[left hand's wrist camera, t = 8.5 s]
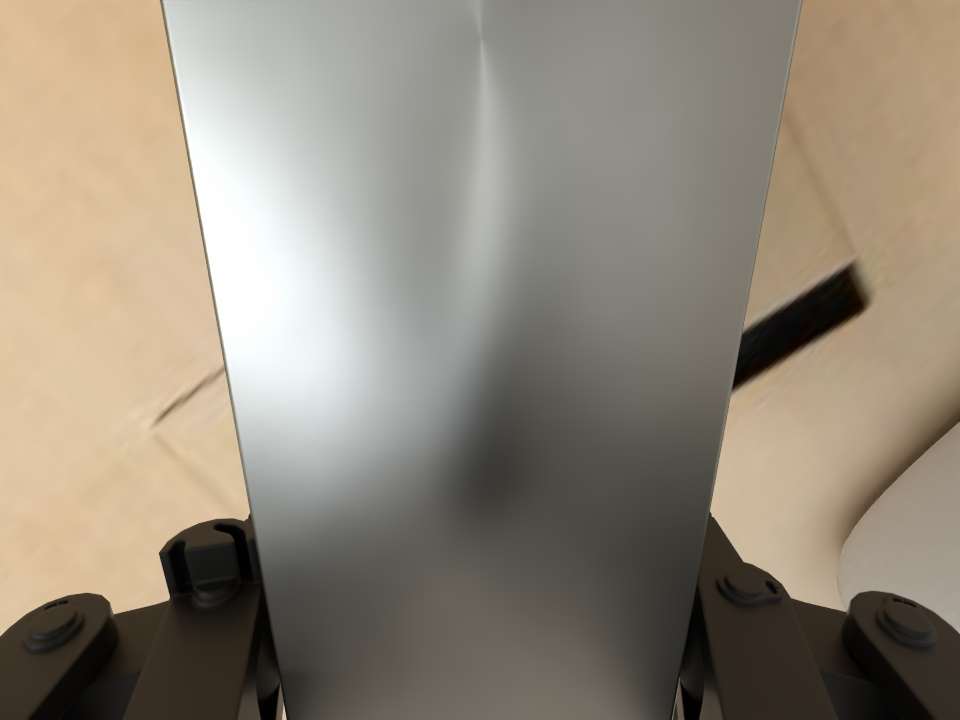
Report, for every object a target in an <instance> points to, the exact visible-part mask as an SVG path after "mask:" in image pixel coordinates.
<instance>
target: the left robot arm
mask: <svg viewBox="0 0 960 720" xmlns="http://www.w3.org/2000/svg"><path fill="white" fill-rule="evenodd" d="M159 556H160V559H161V563H162V567H163V571H164V575H165V579H166V583H167V587H168V590H169V594H170V599H169V601H165V602H162V603H159V604H156V605H152V606H148V607H143V608H139V609H135V610H131V611H126V612H122V613H118V614H114V615H113V612H112V609H111V605H110V602H109V601H108V600H106V599H105V598H104V597H103V596H102V595H97V594H91V593H82V594H75V595H68V596H65V597H62V598H60V599H57V600H54V601H51V602H48V603H46V604H44V605H42V606H40V607H39V608H37V609H35V610H33V611H31V612H29V613H28V614H26V615H25V616H23V617H22V618H21V619H20V620H18V621H17V622H16V623H15V624H13V625H12V626H11V627H10V628H9V629H8V630H7V631H6V632H4V633H3V634H2V635H1V636H0V720H282V714H283V704H284V701H283V695H282V689H281V684H280V678H279V672H278V666H277V661H276V655H275V649H274V644H273V638H272V632H271V627H270V621H269V615H268V610H267V604H266V598H265V593H264V587H263V581H262V576H261V570H260V564H259V559H258V553H257V547H256V541H255V536H254V530H253V524H252V519H251V513H250V514H249V518H248V519H246V520H245V521H241V520H237V519H233V518H231V519H215V520H211V521H206V522H202V523H199V524H196V525H194V526H192V527H190V528H188V529H185V530H183V531H181V532H180V533H179V534H177V535H176V536H174V537H173V538H172V539H170V540H169V541H168V542H167V543H166V544H165V546H164V547H163V548H162V550H161V551H160V552H159ZM672 720H960V633H959V632H957V631H956V630H955V629H954V628H953V627H952V626H951V625H950V624H949V623H948V622H946V621H945V620H944V619H942V618H941V617H940V616H939V615H937V614H936V613H935V612H934V611H932V610H930V609H928V608H926V607H924V606H922V605H921V604H919V603H917V602H915V601H913V600H910V599H908V598H905V597H902V596H899V595H896V594H893V593H888V592H880V591H867V592H861V593H858V594H857V595H856V596H855V597H854V598H852V599H851V601H850V604H849V607H848V610H847V612H843V611H839V610H835V609H830V608H826V607H822V606H818V605H813V604H809V603H805V602H802V601H799V600H795V599H792V598H790V596H789V594H788V593H787V591H786V590H785V588H784V587H783V585H782V584H781V583H780V582H779V581H778V580H776V579H775V578H774V577H773V576H772V575H770V574H769V573H768V572H766V571H764V570H762V569H760V568H758V567H756V566H754V565H752V564H748V563H745V562H743V561H742V559H741V558H740V556H739V555H738V553H737V552H736V550H735V549H734V547H733V546H732V544H731V543H730V541H729V540H728V538H727V537H726V535H725V534H724V532H723V530H722V529H721V527H720V526H719V524H718V523H717V521H716V520H715V518H714V517H712V516H711V512H709V518H708V523H707V529H706V534H705V540H704V545H703V551H702V556H701V562H700V567H699V573H698V578H697V584H696V589H695V595H694V600H693V606H692V611H691V617H690V622H689V628H688V633H687V639H686V644H685V650H684V655H683V661H682V666H681V672H680V679H679V685H678V691H677V696H676V702H675V707H674V713H673V719H672Z"/></svg>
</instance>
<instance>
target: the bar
mask: <svg viewBox="0 0 960 720" xmlns="http://www.w3.org/2000/svg"><path fill="white" fill-rule="evenodd" d="M160 2H161V7H162V13H163V19H164V24H165V30H166V36H167V42H168V47H169V53H170V59H171V64H172V70H173V76H174V81H175V87H176V93H177V98H178V104H179V110H180V115H181V121H182V127H183V132H184V138H185V144H186V149H187V155H188V161H189V166H190V172H191V178H192V184H193V189H194V195H195V201H196V206H197V212H198V218H199V223H200V229H201V235H202V240H203V246H204V252H205V257H206V263H207V269H208V274H209V280H210V286H211V291H212V297H213V303H214V309H215V314H216V320H217V326H218V331H219V337H220V343H221V348H222V354H223V360H224V365H225V371H226V377H227V382H228V388H229V394H230V399H231V405H232V411H233V416H234V422H235V428H236V434H237V439H238V445H239V451H240V456H241V462H242V468H243V473H244V479H245V485H246V490H247V496H248V502H249V507H250V513H251V519H252V524H253V530H254V536H255V541H256V547H257V553H258V559H259V564H260V570H261V576H262V581H263V587H264V593H265V598H266V604H267V610H268V615H269V621H270V627H271V632H272V638H273V644H274V649H275V655H276V661H277V666H278V672H279V678H280V684H281V689H282V695H283V701H284V706H285V712H286V718H287V720H672V716H673V710H674V705H675V699H676V694H677V688H678V683H679V677H680V672H681V666H682V661H683V655H684V650H685V644H686V639H687V633H688V628H689V622H690V617H691V611H692V606H693V600H694V595H695V589H696V584H697V578H698V573H699V567H700V562H701V556H702V551H703V545H704V540H705V534H706V529H707V523H708V518H709V512H710V507H711V501H712V496H713V490H714V485H715V479H716V474H717V468H718V463H719V457H720V452H721V446H722V441H723V435H724V430H725V424H726V419H727V413H728V408H729V402H730V396H731V391H732V385H733V380H734V374H735V369H736V363H737V358H738V352H739V347H740V341H741V336H742V330H743V325H744V319H745V314H746V308H747V303H748V297H749V292H750V286H751V281H752V275H753V270H754V264H755V259H756V253H757V248H758V242H759V237H760V231H761V226H762V220H763V215H764V209H765V204H766V198H767V193H768V187H769V182H770V176H771V171H772V165H773V160H774V154H775V149H776V143H777V138H778V132H779V127H780V121H781V116H782V110H783V105H784V99H785V94H786V88H787V83H788V77H789V72H790V66H791V61H792V55H793V49H794V44H795V38H796V33H797V27H798V22H799V16H800V11H801V5H802V0H160Z"/></svg>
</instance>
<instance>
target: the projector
mask: <svg viewBox="0 0 960 720" xmlns="http://www.w3.org/2000/svg"><path fill="white" fill-rule="evenodd" d="M837 582H838V590H839V593H840V597H841V600H842V603H843V605H844V607H845V609H846V611H847V610H848V607H849V604H850V601H851V599H852V598H854V597H855V596H856V595H857V594H858V593H861V592H867V591H880V592H888V593H893V594H896V595H899V596H902V597H905V598H908V599H910V600H913V601H915V602H917V603H919V604H921V605H922V606H924V607H926V608H928V609H930V610H932V611H934V612H935V613H936V614H937V615H939V616H940V617H941V618H942V619H944V620H945V621H946V622H948V623H949V624H950V625H951V626H952V627H953V628H954V629H955V630H956V631H957V632H959V633H960V422H959V423H957V424H956V425H955V426H954V427H953V428H952V429H951V430H949V431H948V432H947V433H946V434H945V435H944V436H943V437H941V438H940V439H939V440H938V441H937V442H936V443H935V444H934V445H932V446H931V447H930V448H929V449H928V450H927V451H926V452H925V453H924V454H923V455H922V456H921V457H920V458H918V459H917V460H916V461H915V462H914V463H913V464H912V465H911V466H910V467H909V468H908V469H907V470H906V471H905V472H904V473H903V474H902V475H901V476H900V477H899V478H898V479H897V480H896V481H895V482H894V483H893V484H892V485H891V486H890V487H889V488H888V489H887V490H886V491H885V492H884V493H883V494H882V495H881V496H880V497H879V498H878V499H877V500H876V501H875V503H874V504H873V505H872V506H871V507H870V508H869V509H868V510H867V512H866V513H865V514H864V515H863V517H862V518H861V519H860V520H859V522H858V523H857V524H856V525H855V527H854V528H853V530H852V532H851V533H850V535H849V536H848V538H847V540H846V541H845V543H844V546H843V548H842V551H841V553H840V557H839V560H838V565H837Z"/></svg>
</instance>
